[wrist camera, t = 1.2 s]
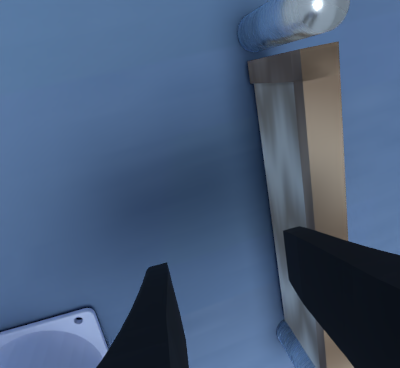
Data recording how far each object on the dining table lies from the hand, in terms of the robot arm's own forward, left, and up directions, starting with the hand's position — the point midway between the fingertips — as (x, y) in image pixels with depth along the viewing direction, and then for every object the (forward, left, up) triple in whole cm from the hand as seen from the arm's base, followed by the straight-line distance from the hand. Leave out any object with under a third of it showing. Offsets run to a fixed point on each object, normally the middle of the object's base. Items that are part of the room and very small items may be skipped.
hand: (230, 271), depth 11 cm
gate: (+5, -2, -9) cm, 11 cm away
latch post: (+5, +8, -9) cm, 14 cm away
